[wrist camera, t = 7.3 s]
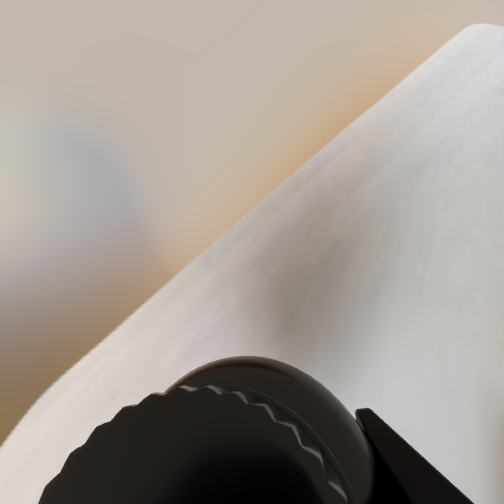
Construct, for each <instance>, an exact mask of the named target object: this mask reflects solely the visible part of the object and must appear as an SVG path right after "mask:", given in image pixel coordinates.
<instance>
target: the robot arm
mask: <svg viewBox="0 0 504 504" xmlns="http://www.w3.org/2000/svg"><path fill="white" fill-rule="evenodd" d="M355 415H356V422H357V423H358V425H359V426H360V427H361V429H362V430H363V432H364V434H365V435H366V437H367V439H368V441H369V442H370V444H371V446H372V448H373V450H374V452H375V454H376V456H377V458H378V460H379V462H380V464H381V467H382V469H383V472H384V474H385V477H386V479H387V482H388V485H389V488H390V491H391V494H392V497H393V500H394V503H395V504H474V503H473V502H472V501H471V500H470V499H469V498H467V497H466V496H465V495H464V494H463V493H462V492H461V491H460V490H459V489H458V488H456V487H455V486H454V485H453V484H452V483H451V482H450V481H449V480H448V479H447V478H446V477H444V476H443V475H442V474H441V473H440V472H439V471H438V470H437V469H436V468H435V467H433V466H432V465H431V464H430V463H429V462H428V461H427V460H426V459H425V458H424V457H423V456H421V455H420V454H419V453H418V452H417V451H416V450H415V449H414V448H413V447H412V446H410V445H409V444H408V443H407V442H406V441H405V440H404V439H403V438H402V437H401V436H400V435H398V434H397V433H396V432H395V431H394V430H393V429H392V428H391V427H390V426H389V425H387V424H386V423H385V422H384V421H383V420H382V419H381V418H380V417H379V416H378V415H377V414H375V413H374V412H373V411H372V410H371V409H369V408H362V409H357V410H356V411H355Z"/></svg>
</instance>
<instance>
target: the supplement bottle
mask: <svg viewBox="0 0 504 504" xmlns="http://www.w3.org/2000/svg"><path fill="white" fill-rule="evenodd" d="M38 504H395V503H394V500H393V497H392V494H391V491H390V488H389V485H388V482H387V479H386V477H385V474H384V472H383V469H382V467H381V464H380V462H379V460H378V458H377V456H376V454H375V452H374V450H373V448H372V446H371V444H370V442H369V441H368V439H367V437H366V435H365V434H364V432H363V430H362V429H361V427H360V426H359V425H358V423H357V422H356V420H355V419H354V417H353V416H352V415H351V414H350V412H349V411H348V410H347V409H346V408H345V406H344V405H343V404H342V403H341V402H340V401H339V400H338V399H337V398H336V397H335V396H334V395H333V394H332V393H331V392H330V391H329V390H328V389H327V388H325V387H324V386H323V385H322V384H321V383H319V382H318V381H317V380H315V379H314V378H312V377H311V376H310V375H308V374H306V373H304V372H303V371H301V370H299V369H297V368H295V367H293V366H291V365H288V364H286V363H283V362H280V361H277V360H273V359H269V358H265V357H256V356H237V357H229V358H224V359H220V360H217V361H213V362H210V363H208V364H205V365H203V366H201V367H198V368H197V369H195V370H193V371H191V372H189V373H188V374H186V375H185V376H183V377H182V378H180V379H179V380H177V381H176V382H175V383H174V384H172V385H171V386H170V387H169V388H168V389H167V390H166V391H165V392H164V393H152V394H150V395H149V396H147V397H146V398H145V399H143V400H142V401H141V402H140V403H139V404H134V405H129V406H125V407H123V408H122V409H121V410H120V411H119V412H118V413H117V414H116V415H115V417H114V418H113V419H112V420H111V421H110V422H107V423H104V424H101V425H99V426H97V427H96V428H95V429H94V431H93V432H92V434H91V435H90V436H89V438H88V440H87V441H86V443H85V444H84V445H82V446H81V447H79V448H77V449H75V450H74V451H73V452H71V453H70V455H69V456H68V458H67V460H66V462H65V464H64V466H63V468H62V470H61V472H60V473H59V474H58V475H57V476H56V477H55V478H53V479H52V480H51V481H50V482H49V483H48V484H47V485H46V486H45V488H44V491H43V493H42V495H41V498H40V500H39V503H38Z"/></svg>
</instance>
